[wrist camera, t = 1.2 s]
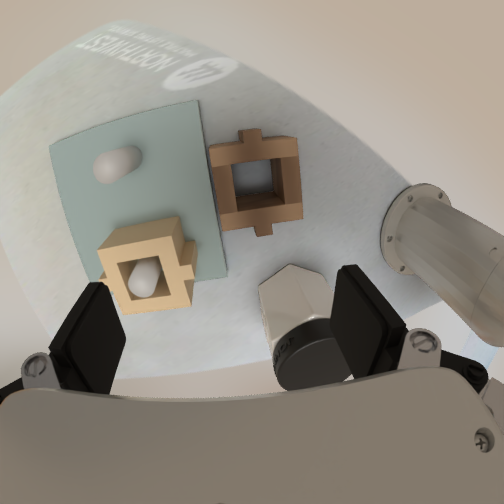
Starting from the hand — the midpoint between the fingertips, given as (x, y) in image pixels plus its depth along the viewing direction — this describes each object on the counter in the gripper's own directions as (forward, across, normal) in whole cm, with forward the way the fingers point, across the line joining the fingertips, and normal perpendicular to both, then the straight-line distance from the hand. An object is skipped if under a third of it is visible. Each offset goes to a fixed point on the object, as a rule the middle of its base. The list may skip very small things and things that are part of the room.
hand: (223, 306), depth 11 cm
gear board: (+18, +9, 0) cm, 20 cm away
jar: (+18, -8, +13) cm, 24 cm away
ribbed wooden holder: (+18, -3, -2) cm, 18 cm away
